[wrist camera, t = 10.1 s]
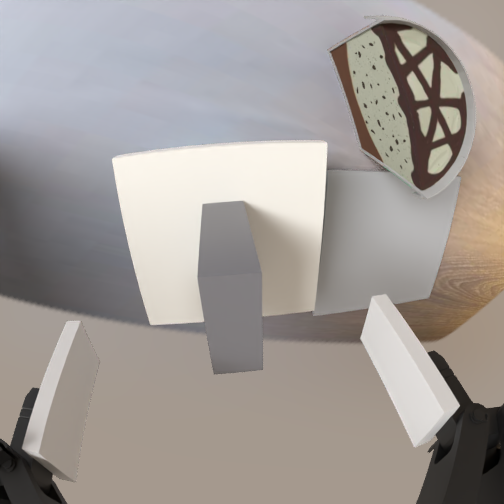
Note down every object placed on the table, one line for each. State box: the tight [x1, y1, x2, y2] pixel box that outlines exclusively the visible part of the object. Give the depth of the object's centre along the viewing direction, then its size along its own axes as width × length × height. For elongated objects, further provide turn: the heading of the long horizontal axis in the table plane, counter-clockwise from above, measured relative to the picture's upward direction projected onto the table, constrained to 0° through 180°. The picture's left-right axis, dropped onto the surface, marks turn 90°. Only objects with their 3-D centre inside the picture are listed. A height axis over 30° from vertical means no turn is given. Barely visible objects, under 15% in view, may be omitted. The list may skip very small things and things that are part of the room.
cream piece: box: [112, 140, 327, 374], centre depth 17 cm, size 13×13×9 cm
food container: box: [327, 15, 476, 200], centre depth 18 cm, size 12×6×10 cm, turn 22°
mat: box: [312, 170, 461, 316], centre depth 30 cm, size 16×16×1 cm
